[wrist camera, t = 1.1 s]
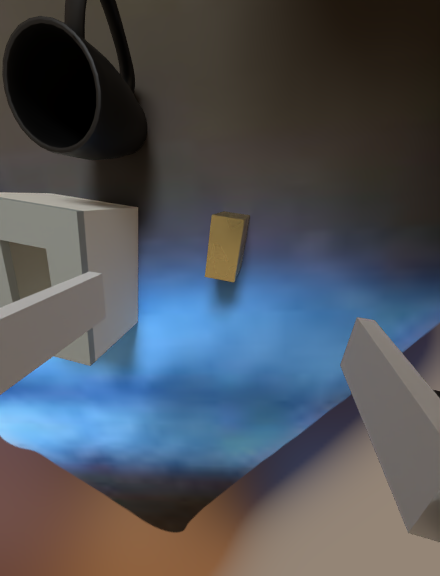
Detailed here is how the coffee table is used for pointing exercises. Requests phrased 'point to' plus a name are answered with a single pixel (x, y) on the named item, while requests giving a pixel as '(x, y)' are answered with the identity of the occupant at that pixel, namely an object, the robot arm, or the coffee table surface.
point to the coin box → (71, 258)
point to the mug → (73, 87)
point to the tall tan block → (226, 245)
